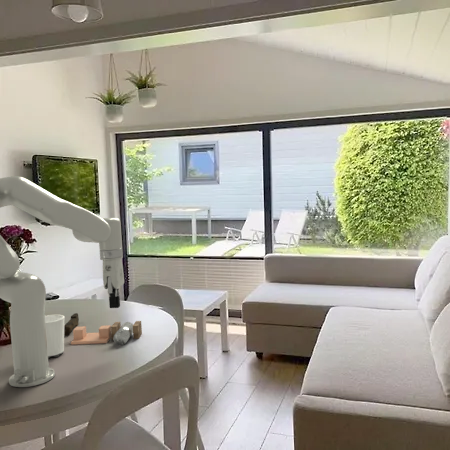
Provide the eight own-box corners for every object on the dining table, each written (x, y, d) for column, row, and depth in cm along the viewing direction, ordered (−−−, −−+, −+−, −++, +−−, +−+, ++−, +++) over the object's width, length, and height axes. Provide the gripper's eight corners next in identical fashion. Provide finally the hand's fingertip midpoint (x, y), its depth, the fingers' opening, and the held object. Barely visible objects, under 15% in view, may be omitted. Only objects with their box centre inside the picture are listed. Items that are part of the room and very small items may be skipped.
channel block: (138, 338, 169) (138, 325, 169) (111, 339, 169) (111, 326, 169) (141, 333, 175) (141, 320, 174) (116, 334, 175) (115, 321, 175)
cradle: (106, 343, 166) (105, 331, 165) (71, 344, 166) (70, 332, 165) (113, 334, 176) (112, 322, 175) (80, 335, 176) (79, 324, 175)
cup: (37, 352, 159) (34, 316, 158) (66, 348, 162) (64, 312, 161) (36, 362, 150) (33, 324, 149) (67, 357, 153) (64, 319, 152)
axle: (128, 344, 163) (126, 330, 163) (114, 346, 163) (112, 332, 163) (135, 333, 175) (133, 321, 175) (122, 335, 175) (120, 322, 175)
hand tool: (70, 336, 176) (69, 324, 176) (60, 336, 176) (59, 325, 176) (84, 322, 195) (83, 311, 195) (75, 322, 195) (74, 312, 195)
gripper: (116, 257, 147) (120, 312, 149) (127, 250, 162) (130, 301, 164) (93, 258, 148) (97, 313, 149) (106, 251, 162) (109, 302, 164)
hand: (114, 307), depth 156 cm, fingers closed
